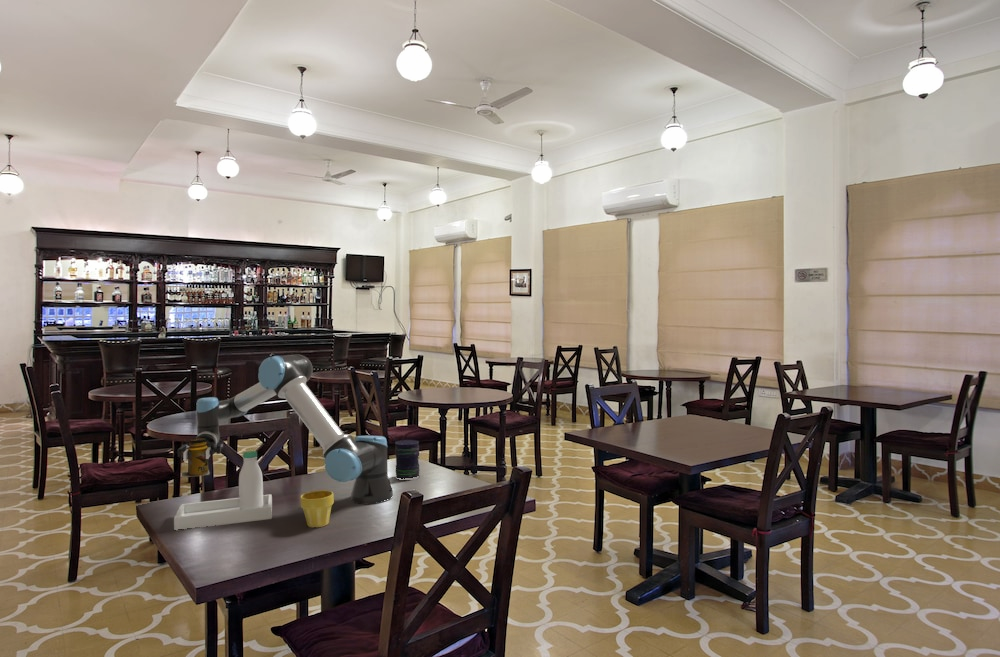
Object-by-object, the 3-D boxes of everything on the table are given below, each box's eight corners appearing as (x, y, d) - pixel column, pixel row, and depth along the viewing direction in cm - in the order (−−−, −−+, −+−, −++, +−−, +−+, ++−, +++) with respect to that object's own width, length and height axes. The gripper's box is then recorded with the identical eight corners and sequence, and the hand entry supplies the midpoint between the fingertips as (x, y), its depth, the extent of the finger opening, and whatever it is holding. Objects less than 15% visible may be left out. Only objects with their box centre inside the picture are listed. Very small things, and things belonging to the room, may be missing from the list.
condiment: (210, 474, 206) (209, 439, 206) (182, 478, 202) (180, 442, 202) (208, 470, 213) (207, 436, 212) (181, 473, 209) (180, 439, 208)
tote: (271, 505, 218) (271, 494, 218) (271, 518, 203) (271, 506, 203) (181, 515, 208) (181, 504, 208) (174, 530, 193) (173, 518, 193)
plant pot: (294, 528, 193) (293, 497, 193) (313, 518, 203) (312, 489, 203) (322, 531, 190) (321, 500, 190) (340, 520, 200) (339, 490, 200)
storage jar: (424, 477, 253) (423, 441, 252) (405, 482, 246) (404, 445, 245) (409, 473, 259) (408, 438, 259) (390, 478, 252) (390, 442, 252)
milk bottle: (267, 508, 210) (266, 451, 210) (246, 514, 204) (244, 455, 204) (256, 504, 215) (255, 448, 215) (235, 510, 209) (233, 452, 209)
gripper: (233, 450, 228) (227, 464, 206) (176, 455, 222) (164, 470, 200) (232, 431, 228) (226, 442, 206) (176, 435, 221) (163, 447, 200)
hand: (195, 455), depth 203 cm, fingers closed on condiment, 6 cm apart
